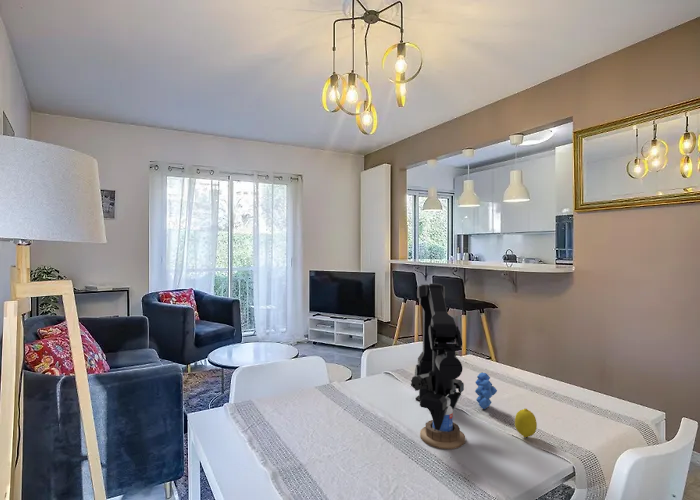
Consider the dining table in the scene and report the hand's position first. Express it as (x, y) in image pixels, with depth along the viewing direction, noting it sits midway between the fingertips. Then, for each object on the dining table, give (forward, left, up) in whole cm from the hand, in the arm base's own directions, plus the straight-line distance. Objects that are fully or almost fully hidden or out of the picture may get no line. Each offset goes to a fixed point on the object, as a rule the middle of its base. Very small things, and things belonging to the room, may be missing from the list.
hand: (442, 424), depth 110 cm
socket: (0, 0, -4) cm, 4 cm away
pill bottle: (0, 0, -3) cm, 3 cm away
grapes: (-27, +5, -4) cm, 28 cm away
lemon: (-13, +19, -4) cm, 23 cm away
